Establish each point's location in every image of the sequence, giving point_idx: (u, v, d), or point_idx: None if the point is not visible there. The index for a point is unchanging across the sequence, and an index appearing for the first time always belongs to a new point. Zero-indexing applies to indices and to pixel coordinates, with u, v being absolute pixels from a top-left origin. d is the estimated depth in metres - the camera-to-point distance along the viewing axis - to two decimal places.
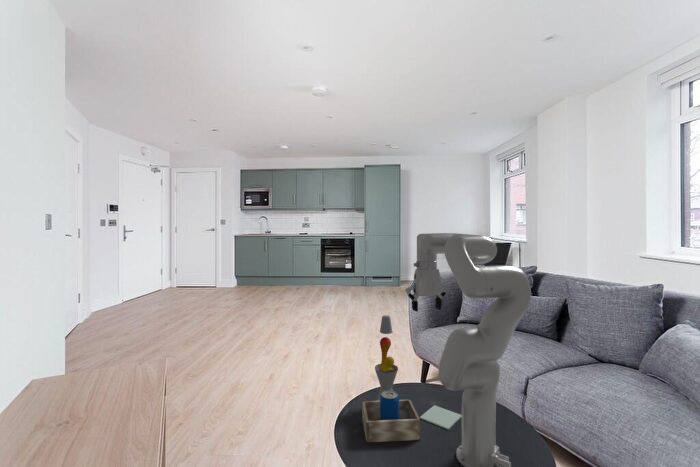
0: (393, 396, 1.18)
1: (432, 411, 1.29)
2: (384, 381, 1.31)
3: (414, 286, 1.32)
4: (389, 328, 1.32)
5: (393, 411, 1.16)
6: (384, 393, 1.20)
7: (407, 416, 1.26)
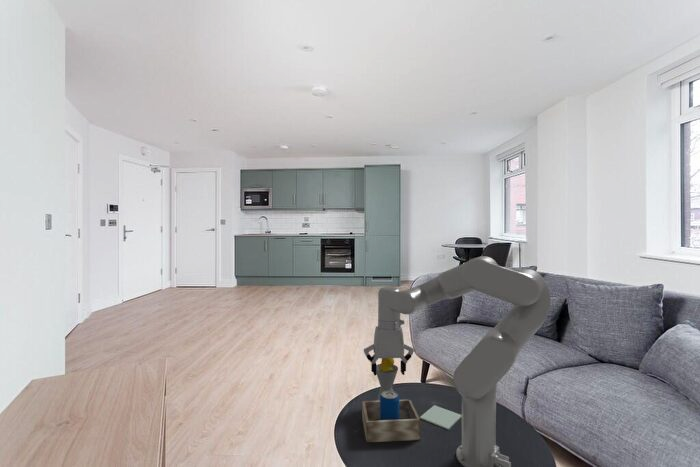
0: (393, 396, 1.18)
1: (432, 411, 1.29)
2: (384, 381, 1.31)
3: None
4: None
5: (393, 411, 1.16)
6: (384, 393, 1.20)
7: (407, 416, 1.26)
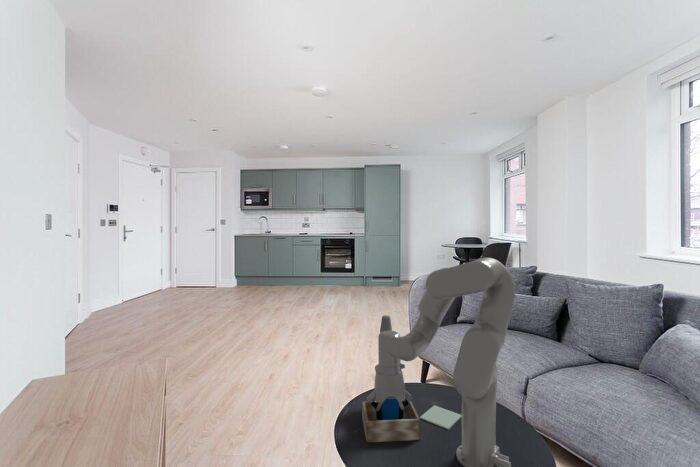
0: None
1: (432, 411, 1.29)
2: None
3: None
4: (389, 328, 1.32)
5: (393, 411, 1.16)
6: None
7: (407, 416, 1.26)
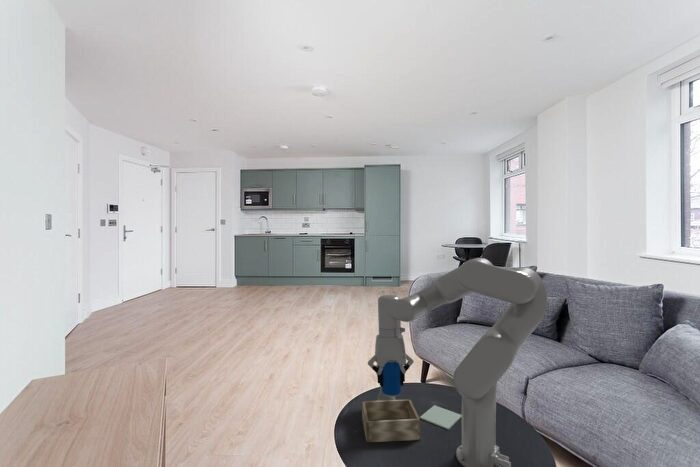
0: None
1: (432, 411, 1.29)
2: None
3: None
4: None
5: (394, 374, 1.15)
6: None
7: (407, 416, 1.26)
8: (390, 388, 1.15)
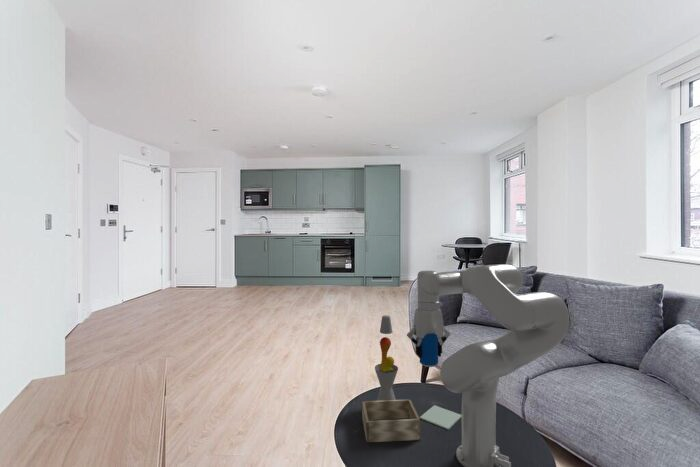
0: None
1: (432, 411, 1.29)
2: (384, 381, 1.31)
3: None
4: (389, 328, 1.32)
5: (433, 345, 1.21)
6: None
7: (407, 416, 1.26)
8: (429, 358, 1.21)
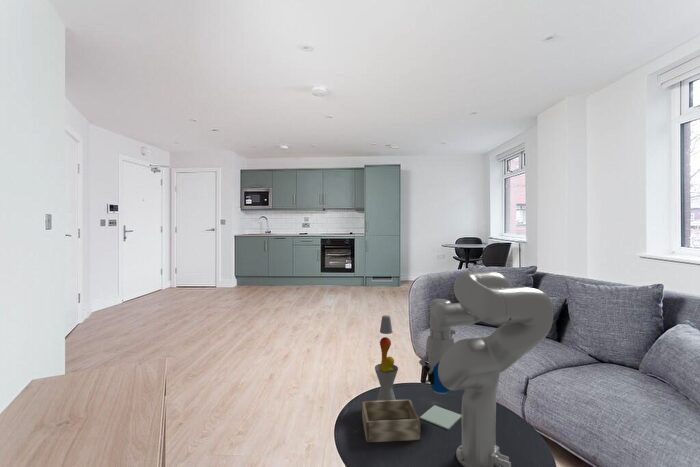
0: None
1: (432, 411, 1.29)
2: (384, 381, 1.31)
3: None
4: (389, 328, 1.32)
5: None
6: None
7: (407, 416, 1.26)
8: (440, 386, 1.23)
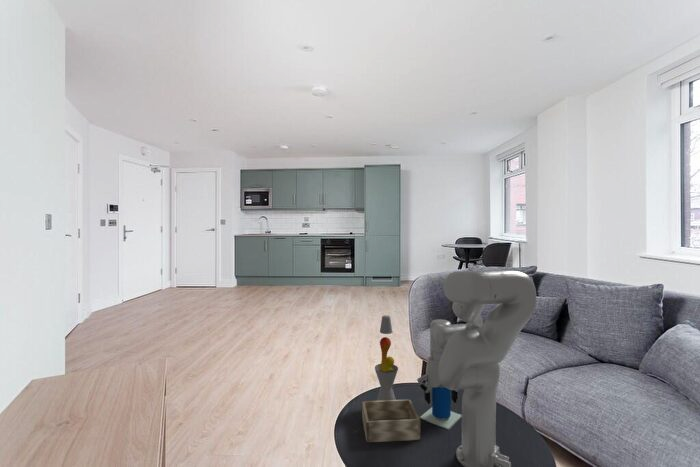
0: None
1: None
2: (384, 381, 1.31)
3: None
4: (389, 328, 1.32)
5: (446, 399, 1.23)
6: None
7: (407, 416, 1.26)
8: (441, 411, 1.23)
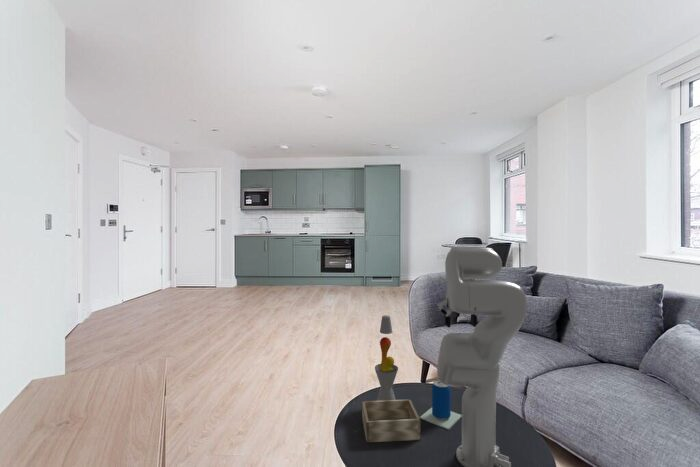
0: (445, 385, 1.25)
1: None
2: (384, 381, 1.31)
3: None
4: (389, 328, 1.32)
5: (446, 399, 1.23)
6: (436, 382, 1.27)
7: (407, 416, 1.26)
8: (441, 411, 1.23)
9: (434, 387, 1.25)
